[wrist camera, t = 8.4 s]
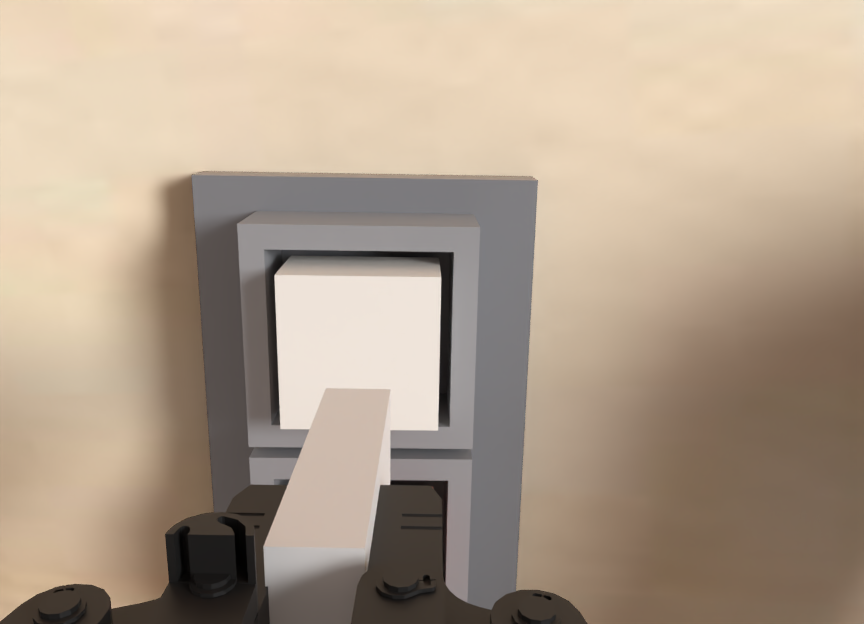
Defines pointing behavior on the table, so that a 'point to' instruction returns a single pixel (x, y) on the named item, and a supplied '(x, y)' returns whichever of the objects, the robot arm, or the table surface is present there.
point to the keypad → (459, 337)
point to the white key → (359, 334)
